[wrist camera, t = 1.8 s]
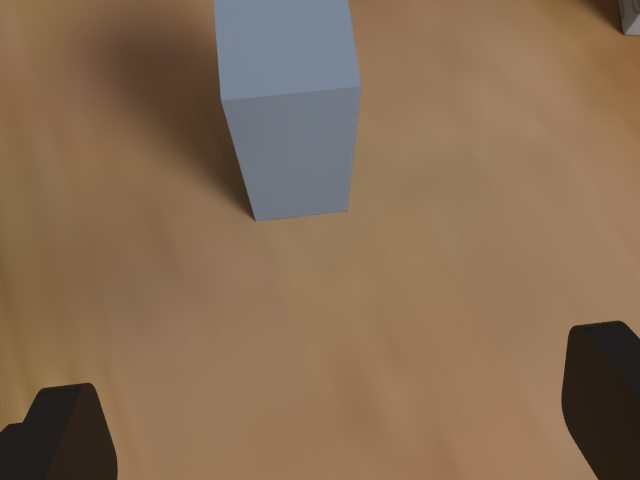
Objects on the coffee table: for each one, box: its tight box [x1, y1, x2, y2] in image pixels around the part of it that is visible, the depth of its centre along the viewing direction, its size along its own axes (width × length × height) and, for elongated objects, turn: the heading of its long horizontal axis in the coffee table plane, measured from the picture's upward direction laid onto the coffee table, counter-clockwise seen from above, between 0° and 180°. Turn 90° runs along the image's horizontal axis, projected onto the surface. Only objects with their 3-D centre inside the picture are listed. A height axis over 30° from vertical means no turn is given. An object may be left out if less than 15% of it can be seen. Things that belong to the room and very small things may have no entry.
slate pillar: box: [213, 0, 362, 221], centre depth 25 cm, size 4×4×11 cm
